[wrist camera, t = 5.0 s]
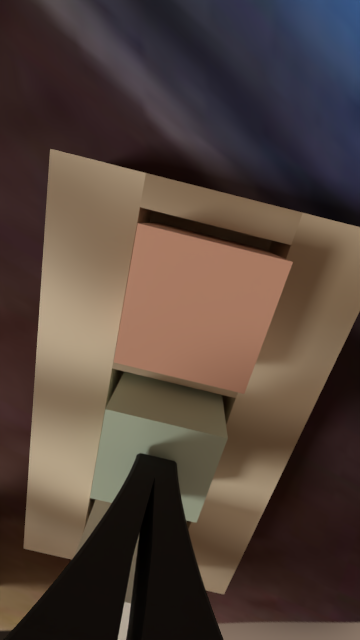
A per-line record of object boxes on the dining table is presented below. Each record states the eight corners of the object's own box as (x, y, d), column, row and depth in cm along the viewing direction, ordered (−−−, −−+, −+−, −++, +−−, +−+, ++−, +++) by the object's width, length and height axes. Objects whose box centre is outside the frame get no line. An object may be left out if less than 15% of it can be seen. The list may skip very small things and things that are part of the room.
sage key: (197, 445, 15) (196, 522, 11) (118, 426, 14) (89, 498, 11) (219, 376, 13) (227, 438, 9) (132, 355, 13) (105, 409, 9)
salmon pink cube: (230, 342, 13) (244, 394, 9) (139, 320, 12) (113, 362, 9) (261, 248, 11) (293, 261, 7) (158, 223, 11) (137, 222, 7)
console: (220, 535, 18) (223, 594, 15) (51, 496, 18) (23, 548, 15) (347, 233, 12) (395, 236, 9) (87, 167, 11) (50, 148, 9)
